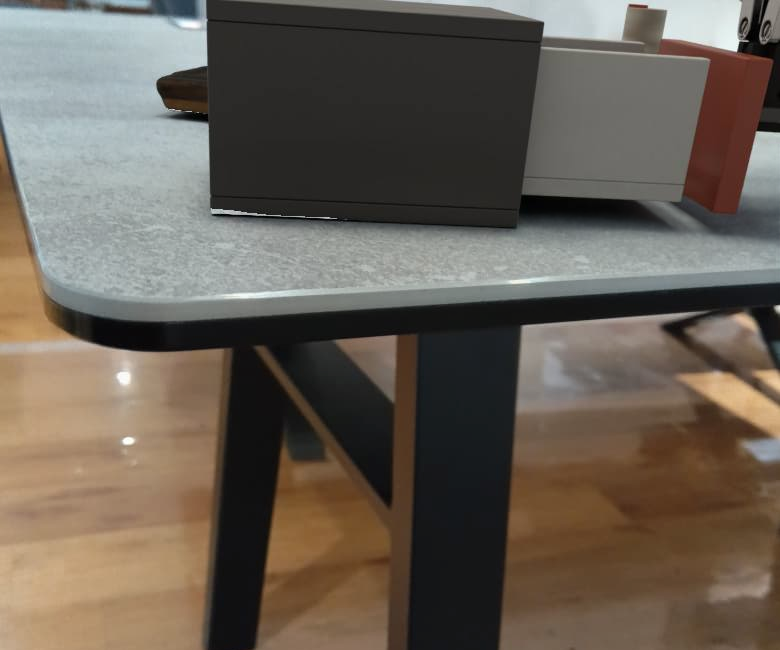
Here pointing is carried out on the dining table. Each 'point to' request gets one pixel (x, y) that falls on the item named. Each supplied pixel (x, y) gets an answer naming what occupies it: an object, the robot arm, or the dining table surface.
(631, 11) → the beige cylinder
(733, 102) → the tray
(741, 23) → the robot arm
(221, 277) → the dining table surface
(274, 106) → the dark grey lidded box
